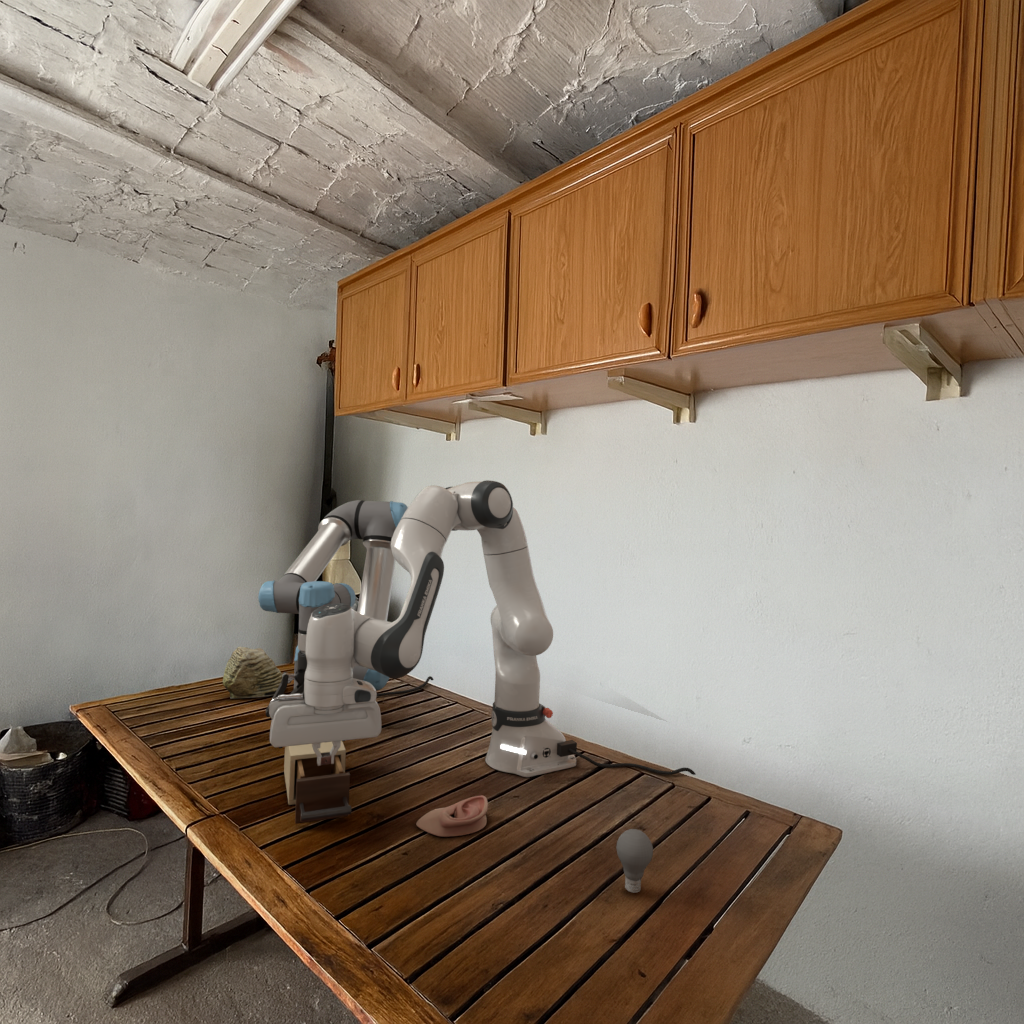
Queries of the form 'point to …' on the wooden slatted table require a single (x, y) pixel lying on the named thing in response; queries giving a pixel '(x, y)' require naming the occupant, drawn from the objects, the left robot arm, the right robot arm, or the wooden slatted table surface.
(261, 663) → the fossil
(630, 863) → the light bulb
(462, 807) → the anatomical model
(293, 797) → the cabinet
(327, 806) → the drawer
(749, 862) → the wooden slatted table surface
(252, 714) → the wooden slatted table surface
